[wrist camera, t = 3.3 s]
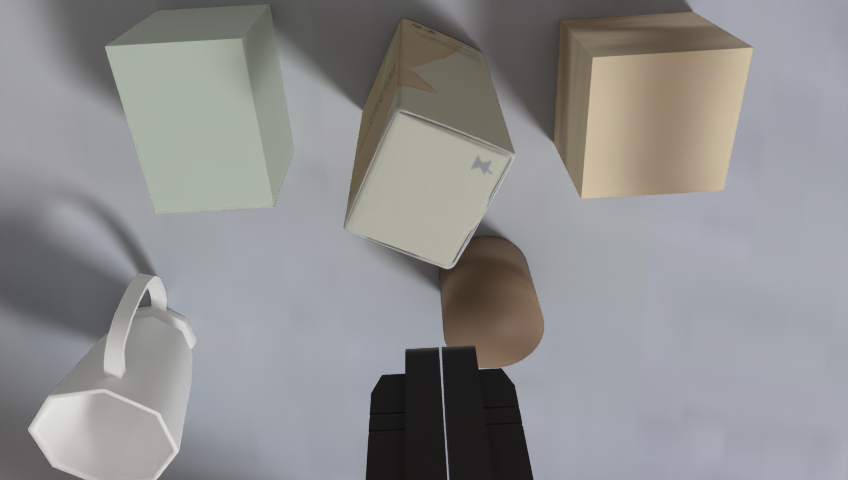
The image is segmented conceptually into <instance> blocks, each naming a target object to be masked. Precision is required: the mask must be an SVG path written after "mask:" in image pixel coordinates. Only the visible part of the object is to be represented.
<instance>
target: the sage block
mask: <svg viewBox="0 0 848 480" xmlns="http://www.w3.org/2000/svg"><path fill="white" fill-rule="evenodd" d="M105 49H106V53H107V56H108V59H109V62H110V66H111V69H112V72H113V76H114V79H115V82H116V85H117V89H118V92H119V95H120V98H121V102H122V105H123V108H124V112H125V115H126V118H127V121H128V125H129V128H130V131H131V134H132V138H133V141H134V144H135V148H136V151H137V154H138V157H139V161H140V164H141V167H142V170H143V174H144V177H145V180H146V184H147V187H148V190H149V193H150V197H151V200H152V203H153V206H154V210H155V213H156V214H161V213H178V212H196V211H213V210H231V209H248V208H266V207H274V206H275V203H276V201H277V198H278V195H279V192H280V189H281V187H282V184H283V181H284V178H285V175H286V173H287V170H288V167H289V164H290V161H291V159H292V156H293V153H294V144H293V138H292V132H291V126H290V120H289V114H288V108H287V102H286V96H285V90H284V84H283V78H282V72H281V67H280V61H279V55H278V49H277V43H276V37H275V31H274V25H273V19H272V13H271V7H270V4H258V5H241V6H224V7H207V8H190V9H172V10H157V11H156V12H154V13H153V14H151V15H150V16H148V17H147V18H145V19H144V20H142V21H141V22H140V23H138V24H137V25H135V26H134V27H132V28H131V29H129V30H128V31H126V32H125V33H123V34H122V35H120V36H119V37H118V38H116V39H115V40H113V41H112V42H110V43H109V44H107V45H106V46H105Z"/></svg>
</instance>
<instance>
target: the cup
mask: <svg viewBox="0 0 848 480" xmlns="http://www.w3.org/2000/svg"><path fill="white" fill-rule="evenodd" d="M147 288H148V290H149V293H150V297H151V306H147V307H140V308H138V305H139V303H140V301H141V299H142V297H143V295H144V293H145V291H146V289H147ZM166 306H167V297H166V292H165V288H164V286H163V284H162V282H161V280H160V278H159V277H156V276H152V275H146V274H141V273H139V274H138V275H136V276H135V277H134V278H133V279H132V280H131V282H130V284H129V286H128V288H127V289H126V291H125V293H124V295H123V297H122V299H121V301H120V304H119V306H118V308H117V310H116V312H115V314H114V317H113V321H112V324H111V327H110V330H109V332H108V333H107V334H105V335H104V336H103V337H102V338H101V339H100V340H99V341H98V342H97V343H96V344H95V345H94V346H93V347H92V349H91V350H90V351H89V352H88V353H87V354H86V355H85V356H84V357H83V359H82V360H81V361H80V362H79V363H78V364H77V365H76V366H75V367H74V368H73V369H72V370H71V371H70V373H69V374H68V375H67V376H66V377H65V378H64V379H63V380H62V381H61V382H60V383H59V384H58V385H57V387H56V388H55V389H54V390H53V391H52V392H51V393H50V394H49V395H48V397H47V398H46V400H45V402H44V403H43V405H42V407H41V408H40V410H39V411H38V413H37V415H36V416H35V418H34V420H33V421H32V423H31V425H30V426H29V428H28V431H29V432H30V434H31V435H32V437H33V438H34V440H35V441H36V443H37V444H38V446H39V447H40V449H41V450H42V452H43V453H44V455H45V456H46V458H47V459H48V461H49V462H50V464H51V465H52V467H54V468H57V469H59V470H62V471H64V472H67V473H70V474H72V475H75V476H77V477H80V478H82V479H85V480H157V479H158V477H159V476H160V475H161V474H162V472H163V471H164V470H165V469H166V467H167V466H168V465H169V463H170V462H171V461H172V460H173V458H174V457H175V456H176V455H177V453H178V452H179V449H180V444H181V438H182V433H183V427H184V420H185V414H186V408H187V403H188V398H189V393H190V387H191V382H192V353H191V349H192V348H193V346H194V345H195V342H196V339H195V336H194V334H193V332H192V329H191V327H190V325H189V322H188V320H187V318H185V317H183V316H181V315H179V314H177V313H175V312H173V311H171V310H169V309H167V308H166Z"/></svg>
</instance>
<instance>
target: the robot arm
mask: <svg viewBox="0 0 848 480" xmlns="http://www.w3.org/2000/svg"><path fill="white" fill-rule="evenodd" d="M442 364H443V385H444V405H445V422H446V437H447V452H448V467H449V480H533V475H532V470H531V465H530V460H529V455H528V450H527V445H526V440H525V435H524V430H523V426H522V420H521V415H520V410H519V404H518V399H517V394H516V389H515V385H514V384H513V383H512V381H511V380H510V379H509V377H508V376H507V375H506V374H505V372H504V371H503V370H502V369H501V368H499V369H481V370H479V369H478V361H477V354H476V348H475V345H471V346H452V347H442ZM366 480H447V467H446V452H445V436H444V420H443V405H442V389H441V374H440V358H439V347H437V348H419V349H406V352H405V374H392V375H382V376H381V378H380V379H379V381H378V383H377V385H376V386H375V388H374V390H373V391H372V393H371V404H370V420H369V436H368V452H367V468H366Z"/></svg>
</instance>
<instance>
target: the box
mask: <svg viewBox="0 0 848 480" xmlns="http://www.w3.org/2000/svg"><path fill="white" fill-rule="evenodd" d="M514 159H515V152H514V149H513V146H512V143H511V139H510V136H509V133H508V130H507V127H506V124H505V120H504V117H503V114H502V111H501V108H500V105H499V101H498V98H497V95H496V91H495V89H494V85H493V82H492V79H491V76H490V73H489V69H488V66H487V63H486V60H485V57H484V54H483V53H482V52H480V51H478V50H476V49H474V48H472V47H470V46H468V45H466V44H463V43H461V42H459V41H457V40H455V39H453V38H451V37H449V36H446V35H444V34H442V33H440V32H437V31H435V30H433V29H430V28H428V27H426V26H423V25H421V24H418V23H416V22H413V21H411V20H408V19H405V18H402V19H401V20H400V22H399V24H398V26H397V29H396V31H395V33H394V36H393V38H392V40H391V43H390V45H389V47H388V50H387V52H386V54H385V57H384V59H383V62H382V64H381V66H380V69H379V71H378V74H377V76H376V79H375V81H374V83H373V86H372V88H371V91H370V93H369V96H368V98H367V101H366V103H365V106H364V108H363V113H362V119H361V125H360V131H359V137H358V142H357V148H356V155H355V162H354V168H353V173H352V180H351V186H350V192H349V198H348V205H347V211H346V217H345V222H344V229H345V230H346V231H348V232H350V233H353V234H355V235H358V236H360V237H363V238H365V239H368V240H371V241H373V242H376V243H378V244H380V245H383V246H385V247H388V248H391V249H393V250H396V251H399V252H402V253H404V254H407V255H410V256H412V257H415V258H417V259H420V260H423V261H425V262H428V263H431V264H434V265H437V266H439V267H442V268H445V269H450V268H452V267H454V266H455V264H456V263H457V261H458V259H459V258H460V256H461V254H462V253H463V251H464V249H465V248H466V246H467V244H468V243H469V241H470V239H471V237H472V235H473V234H474V232H475V230H476V228H477V227H478V225H479V223H480V221H481V220H482V218H483V216H484V214H485V212H486V211H487V209H488V207H489V205H490V203H491V201H492V200H493V198H494V196H495V194H496V192H497V190H498V189H499V187H500V185H501V183H502V181H503V179H504V177H505V176H506V174H507V172H508V170H509V168H510V166H511V164H512V163H513V161H514Z"/></svg>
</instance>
